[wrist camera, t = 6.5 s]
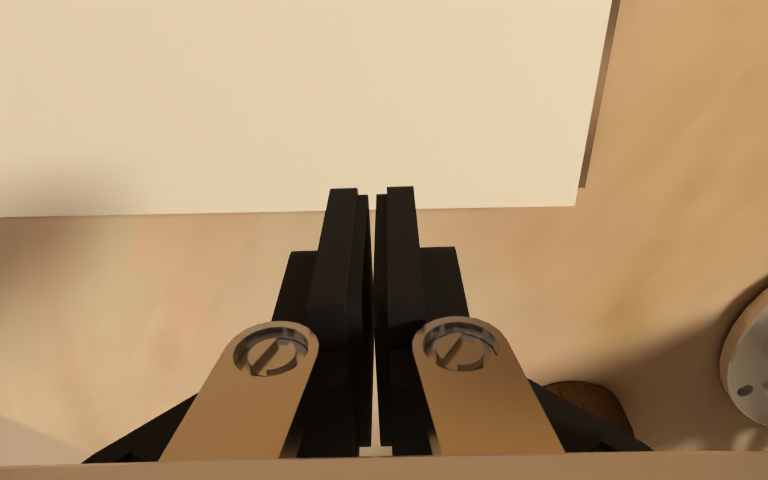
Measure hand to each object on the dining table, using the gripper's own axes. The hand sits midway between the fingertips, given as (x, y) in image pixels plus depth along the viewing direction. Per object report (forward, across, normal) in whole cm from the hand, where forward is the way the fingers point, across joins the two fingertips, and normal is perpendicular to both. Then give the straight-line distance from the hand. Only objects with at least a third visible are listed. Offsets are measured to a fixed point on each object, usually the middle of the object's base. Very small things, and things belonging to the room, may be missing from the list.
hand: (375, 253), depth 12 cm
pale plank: (+12, +4, 0) cm, 13 cm away
